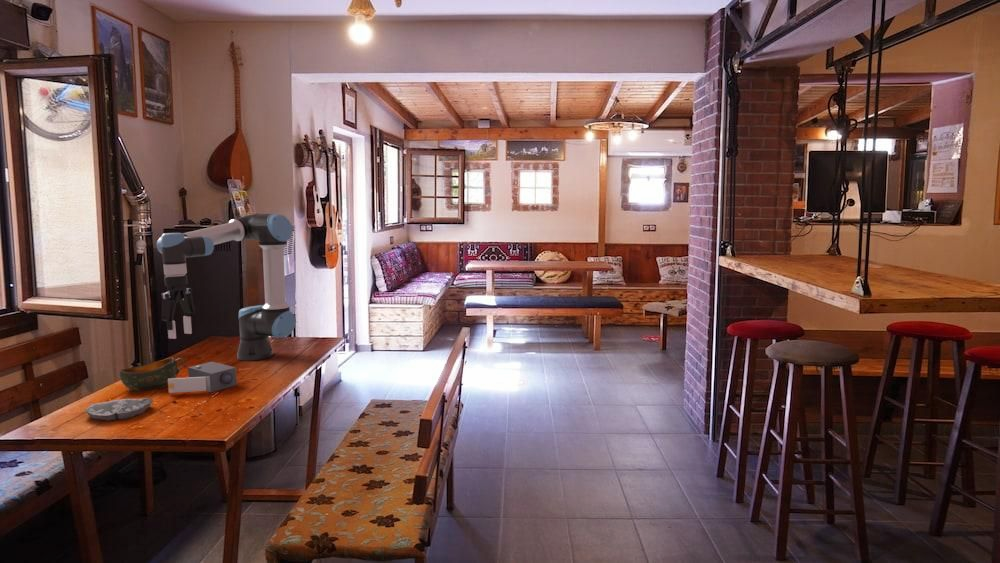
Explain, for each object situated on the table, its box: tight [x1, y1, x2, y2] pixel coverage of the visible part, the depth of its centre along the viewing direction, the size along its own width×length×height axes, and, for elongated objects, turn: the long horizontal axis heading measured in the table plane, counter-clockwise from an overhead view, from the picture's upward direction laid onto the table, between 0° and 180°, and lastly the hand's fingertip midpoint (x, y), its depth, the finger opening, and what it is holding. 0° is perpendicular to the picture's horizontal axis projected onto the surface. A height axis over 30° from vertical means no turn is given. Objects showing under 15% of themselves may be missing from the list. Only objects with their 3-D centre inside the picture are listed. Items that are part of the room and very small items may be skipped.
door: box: [167, 376, 211, 394], centre depth 233 cm, size 2×14×6 cm, turn 101°
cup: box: [119, 357, 185, 392], centre depth 241 cm, size 13×20×10 cm, turn 97°
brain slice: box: [84, 397, 153, 421], centre depth 212 cm, size 20×17×3 cm
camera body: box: [187, 361, 238, 393], centre depth 243 cm, size 10×18×8 cm, turn 56°
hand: (180, 335), depth 234 cm, fingers open, 8 cm apart
